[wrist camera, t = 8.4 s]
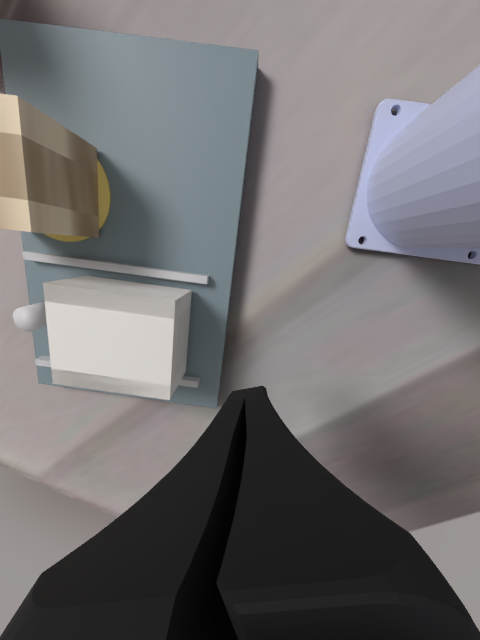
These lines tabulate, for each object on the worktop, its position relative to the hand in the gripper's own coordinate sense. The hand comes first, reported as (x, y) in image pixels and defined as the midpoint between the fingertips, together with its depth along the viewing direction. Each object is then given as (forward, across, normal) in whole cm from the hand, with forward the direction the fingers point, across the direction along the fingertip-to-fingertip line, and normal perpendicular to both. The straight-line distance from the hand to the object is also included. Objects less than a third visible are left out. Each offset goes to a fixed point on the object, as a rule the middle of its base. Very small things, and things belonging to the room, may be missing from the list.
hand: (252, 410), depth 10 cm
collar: (+8, +10, -12) cm, 17 cm away
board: (+9, +7, -8) cm, 14 cm away
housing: (+8, +7, -3) cm, 11 cm away
